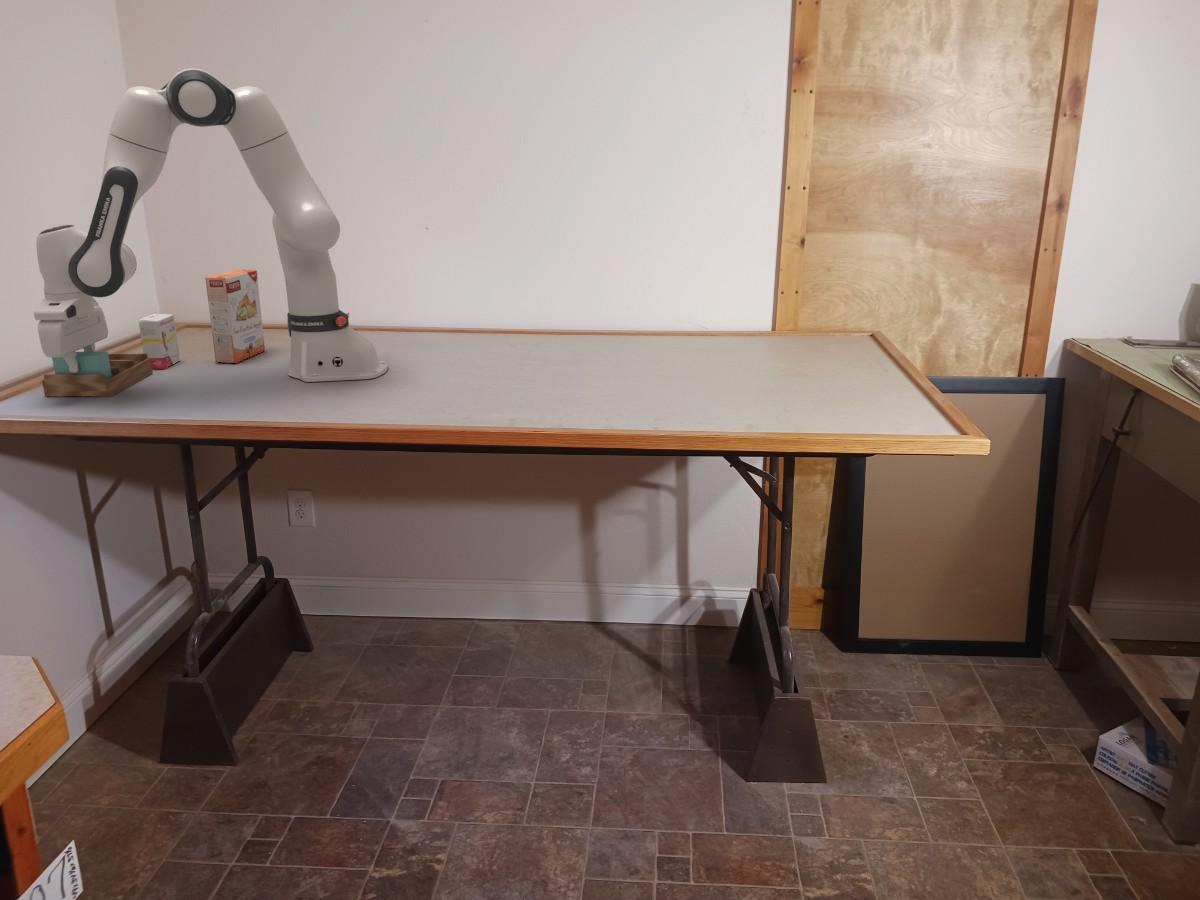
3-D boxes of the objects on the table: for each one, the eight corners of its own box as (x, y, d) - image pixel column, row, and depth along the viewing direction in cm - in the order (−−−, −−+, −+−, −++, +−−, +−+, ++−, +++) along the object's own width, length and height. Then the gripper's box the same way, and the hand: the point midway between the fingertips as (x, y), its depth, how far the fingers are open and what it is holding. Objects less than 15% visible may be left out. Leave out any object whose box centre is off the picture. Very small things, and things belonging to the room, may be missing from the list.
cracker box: (237, 364, 234) (226, 277, 227) (214, 363, 235) (202, 276, 229) (267, 351, 247) (257, 268, 240) (245, 350, 248) (235, 268, 242)
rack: (152, 373, 226) (149, 353, 225) (110, 396, 208) (106, 374, 206) (92, 373, 227) (88, 353, 225) (45, 396, 208) (40, 375, 206)
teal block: (67, 383, 213) (61, 351, 210) (113, 382, 212) (107, 351, 210) (57, 388, 209) (51, 356, 207) (103, 387, 209) (98, 355, 206)
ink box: (165, 369, 230) (157, 320, 226) (144, 369, 230) (136, 320, 226) (181, 361, 238) (174, 313, 234) (162, 361, 238) (154, 313, 234)
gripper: (81, 295, 215) (92, 357, 219) (28, 313, 195) (41, 380, 200) (109, 295, 215) (120, 356, 219) (59, 313, 195) (72, 380, 200)
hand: (82, 368), depth 209 cm, fingers open, 4 cm apart
